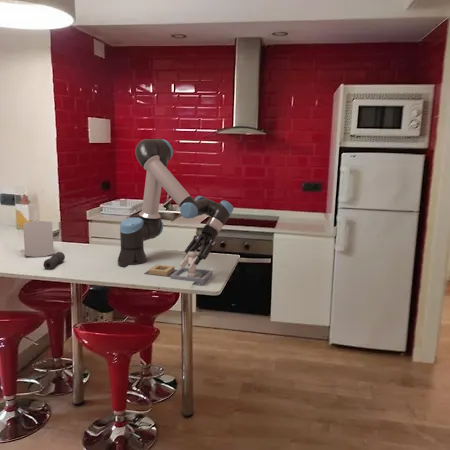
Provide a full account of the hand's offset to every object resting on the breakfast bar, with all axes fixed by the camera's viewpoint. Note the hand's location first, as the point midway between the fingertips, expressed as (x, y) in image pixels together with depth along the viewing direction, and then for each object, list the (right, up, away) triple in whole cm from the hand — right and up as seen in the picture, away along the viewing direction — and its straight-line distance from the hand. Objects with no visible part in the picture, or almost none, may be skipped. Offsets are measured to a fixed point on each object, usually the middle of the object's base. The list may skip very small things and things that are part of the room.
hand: (186, 268), depth 219 cm
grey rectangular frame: (+2, -6, +4) cm, 7 cm away
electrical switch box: (-85, +4, +42) cm, 95 cm away
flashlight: (-69, -1, +21) cm, 72 cm away
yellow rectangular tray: (-13, -4, +9) cm, 16 cm away
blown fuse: (+2, -5, +4) cm, 6 cm away
